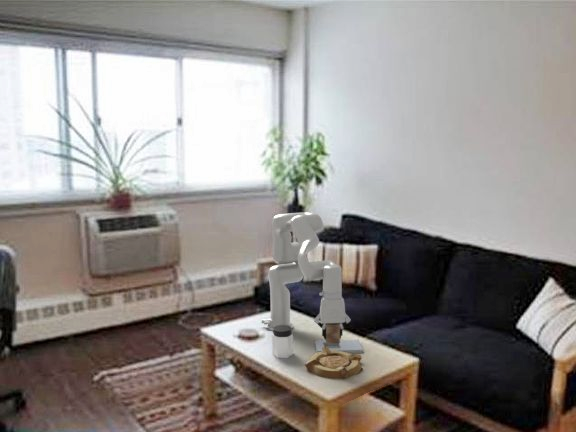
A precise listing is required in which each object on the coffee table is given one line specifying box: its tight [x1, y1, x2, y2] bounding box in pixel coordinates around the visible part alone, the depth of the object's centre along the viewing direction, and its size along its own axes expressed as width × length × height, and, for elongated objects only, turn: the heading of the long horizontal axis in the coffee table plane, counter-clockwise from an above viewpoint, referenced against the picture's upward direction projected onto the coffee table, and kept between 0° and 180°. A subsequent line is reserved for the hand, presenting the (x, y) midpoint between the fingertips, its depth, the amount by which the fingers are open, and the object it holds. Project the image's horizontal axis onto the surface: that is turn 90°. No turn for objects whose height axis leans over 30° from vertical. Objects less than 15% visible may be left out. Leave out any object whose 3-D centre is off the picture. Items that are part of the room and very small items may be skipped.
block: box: [324, 323, 341, 344], centre depth 231 cm, size 6×6×8 cm
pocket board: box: [314, 338, 364, 354], centre depth 251 cm, size 20×12×2 cm, turn 92°
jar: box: [271, 325, 294, 359], centre depth 244 cm, size 9×8×12 cm
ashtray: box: [304, 346, 363, 380], centre depth 232 cm, size 24×24×5 cm
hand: (332, 337), depth 232 cm, fingers closed on block, 5 cm apart
